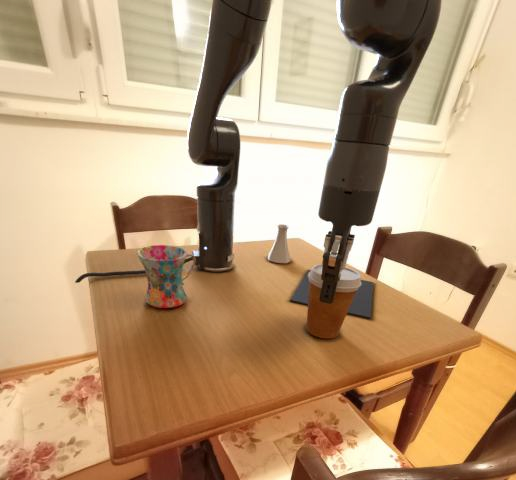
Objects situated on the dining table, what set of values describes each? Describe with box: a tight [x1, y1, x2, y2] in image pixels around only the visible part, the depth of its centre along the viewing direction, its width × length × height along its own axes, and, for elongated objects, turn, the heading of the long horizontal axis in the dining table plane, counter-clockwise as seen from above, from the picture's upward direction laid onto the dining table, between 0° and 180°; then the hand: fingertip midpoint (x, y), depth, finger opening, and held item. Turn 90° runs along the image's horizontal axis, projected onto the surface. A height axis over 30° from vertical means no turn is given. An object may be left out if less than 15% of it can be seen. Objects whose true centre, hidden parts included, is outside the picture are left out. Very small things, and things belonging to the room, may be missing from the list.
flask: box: [267, 224, 292, 264], centre depth 92 cm, size 7×7×10 cm
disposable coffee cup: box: [305, 263, 362, 339], centre depth 58 cm, size 10×10×12 cm
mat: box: [289, 269, 374, 320], centre depth 78 cm, size 22×18×1 cm
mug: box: [136, 244, 196, 309], centre depth 64 cm, size 12×9×11 cm
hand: (326, 301), depth 51 cm, fingers closed
